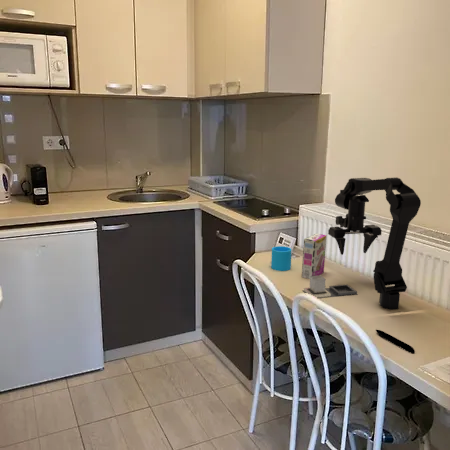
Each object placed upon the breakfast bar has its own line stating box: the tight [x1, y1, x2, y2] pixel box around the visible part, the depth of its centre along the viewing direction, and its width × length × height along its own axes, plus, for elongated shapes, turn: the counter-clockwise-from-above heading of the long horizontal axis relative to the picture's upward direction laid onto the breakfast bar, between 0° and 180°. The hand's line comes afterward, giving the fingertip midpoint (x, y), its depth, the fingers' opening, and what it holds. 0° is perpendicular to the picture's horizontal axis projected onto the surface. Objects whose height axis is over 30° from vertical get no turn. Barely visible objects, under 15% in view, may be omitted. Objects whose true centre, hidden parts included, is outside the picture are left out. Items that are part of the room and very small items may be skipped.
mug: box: [270, 245, 292, 272], centre depth 195 cm, size 12×8×8 cm
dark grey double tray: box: [301, 283, 359, 299], centre depth 165 cm, size 8×18×2 cm, turn 103°
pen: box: [375, 329, 416, 354], centre depth 132 cm, size 2×14×2 cm, turn 29°
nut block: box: [309, 274, 327, 295], centre depth 164 cm, size 4×4×6 cm
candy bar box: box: [301, 233, 328, 280], centre depth 182 cm, size 11×5×16 cm, turn 145°
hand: (353, 253), depth 172 cm, fingers open, 9 cm apart
